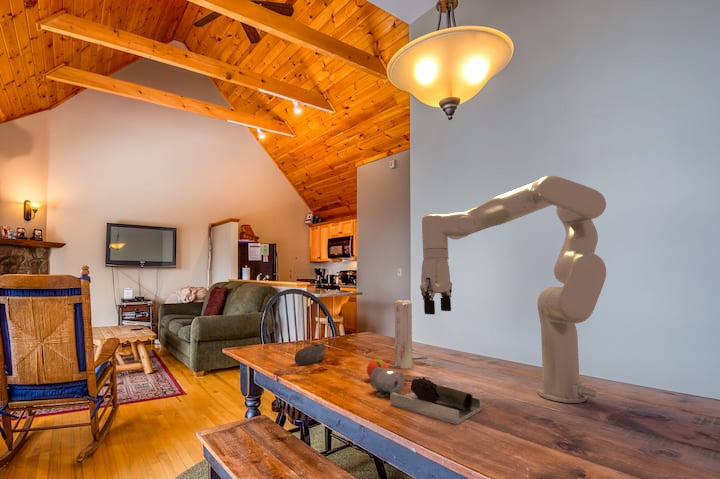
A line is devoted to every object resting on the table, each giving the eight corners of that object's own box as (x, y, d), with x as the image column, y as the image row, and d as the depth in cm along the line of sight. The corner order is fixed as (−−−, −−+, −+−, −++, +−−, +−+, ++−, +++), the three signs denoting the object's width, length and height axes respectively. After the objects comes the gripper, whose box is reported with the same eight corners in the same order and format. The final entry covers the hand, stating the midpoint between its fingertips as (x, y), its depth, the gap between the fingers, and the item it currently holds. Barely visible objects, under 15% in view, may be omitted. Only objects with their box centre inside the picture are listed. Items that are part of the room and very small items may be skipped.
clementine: (392, 383, 123) (392, 360, 124) (373, 385, 121) (372, 362, 121) (382, 376, 131) (382, 355, 131) (363, 378, 128) (363, 357, 129)
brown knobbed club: (473, 408, 98) (473, 386, 98) (460, 416, 93) (459, 392, 94) (417, 392, 110) (417, 372, 111) (403, 398, 106) (403, 377, 106)
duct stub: (405, 393, 113) (405, 369, 113) (390, 399, 107) (390, 374, 108) (384, 388, 118) (384, 365, 119) (369, 393, 113) (369, 369, 113)
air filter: (392, 365, 146) (392, 300, 149) (407, 364, 148) (407, 299, 150) (399, 369, 140) (398, 301, 142) (415, 368, 142) (414, 300, 144)
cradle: (481, 409, 100) (481, 398, 100) (456, 424, 90) (456, 411, 90) (418, 393, 113) (418, 382, 113) (390, 404, 103) (390, 393, 104)
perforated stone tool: (298, 368, 142) (298, 349, 143) (290, 365, 146) (290, 347, 147) (329, 361, 153) (329, 343, 154) (320, 359, 157) (321, 342, 157)
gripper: (438, 256, 124) (441, 309, 122) (409, 255, 111) (411, 314, 109) (460, 255, 119) (462, 310, 117) (432, 254, 106) (434, 316, 104)
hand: (438, 312), depth 113 cm, fingers open, 9 cm apart
